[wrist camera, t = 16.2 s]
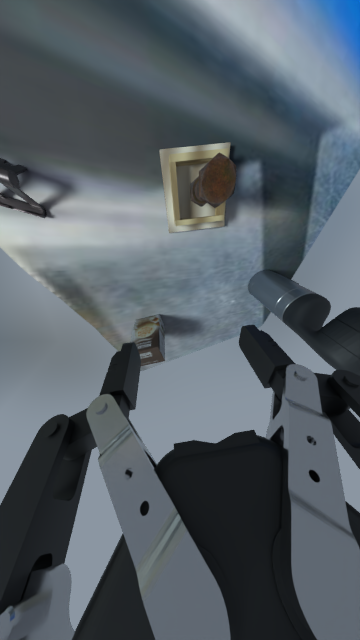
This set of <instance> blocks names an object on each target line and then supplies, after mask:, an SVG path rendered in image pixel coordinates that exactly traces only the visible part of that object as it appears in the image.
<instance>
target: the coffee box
mask: <svg viewBox="0 0 360 640" xmlns="http://www.w3.org/2000/svg"><path fill="white" fill-rule="evenodd" d="M130 342H135V344H136V346H137V349H138V352H139V354H140V357H141V366H143V365H148V364H153V363H157V362H162V361H165V341H164V325H163V322H162V319H161V317H160V315H155V316H151V317H146V318H142V319H138V320H135V325H134V329H133V333H132V337H131V341H130Z"/></svg>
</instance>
